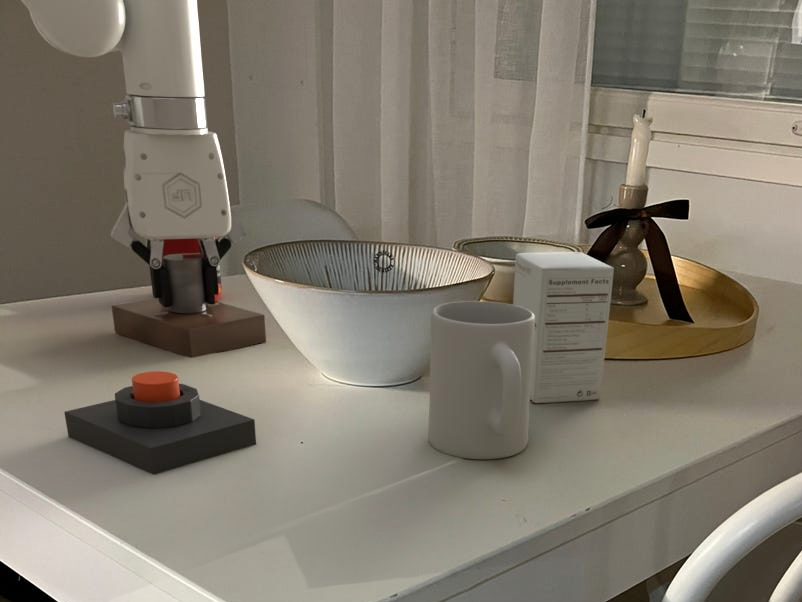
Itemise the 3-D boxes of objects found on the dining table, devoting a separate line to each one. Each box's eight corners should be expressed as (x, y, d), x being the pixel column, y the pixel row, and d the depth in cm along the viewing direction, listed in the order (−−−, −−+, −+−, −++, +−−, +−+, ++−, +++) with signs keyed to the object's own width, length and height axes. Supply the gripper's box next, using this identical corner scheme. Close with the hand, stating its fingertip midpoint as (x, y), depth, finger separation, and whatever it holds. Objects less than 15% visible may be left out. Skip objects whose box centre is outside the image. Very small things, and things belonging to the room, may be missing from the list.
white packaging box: (506, 382, 104) (513, 251, 98) (573, 379, 106) (584, 250, 100) (531, 404, 98) (541, 266, 92) (602, 400, 100) (616, 265, 94)
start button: (125, 398, 83) (122, 376, 82) (162, 389, 86) (160, 368, 85) (151, 408, 81) (149, 386, 81) (189, 399, 84) (187, 377, 83)
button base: (68, 437, 85) (60, 389, 83) (169, 411, 92) (164, 367, 90) (154, 475, 79) (147, 425, 77) (256, 444, 86) (253, 397, 84)
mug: (416, 430, 90) (417, 302, 85) (506, 423, 93) (513, 298, 87) (459, 479, 81) (464, 338, 75) (559, 470, 83) (570, 333, 78)
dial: (172, 314, 110) (166, 258, 108) (165, 306, 114) (159, 251, 111) (210, 312, 112) (205, 256, 109) (201, 304, 115) (196, 250, 112)
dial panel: (114, 332, 115) (110, 303, 113) (189, 319, 121) (186, 291, 120) (191, 358, 107) (188, 327, 106) (266, 342, 114) (264, 313, 112)
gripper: (86, 118, 97) (113, 316, 106) (260, 120, 104) (271, 306, 113) (75, 112, 103) (101, 300, 112) (240, 114, 109) (252, 292, 119)
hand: (186, 301), depth 112 cm, fingers closed on dial, 4 cm apart
